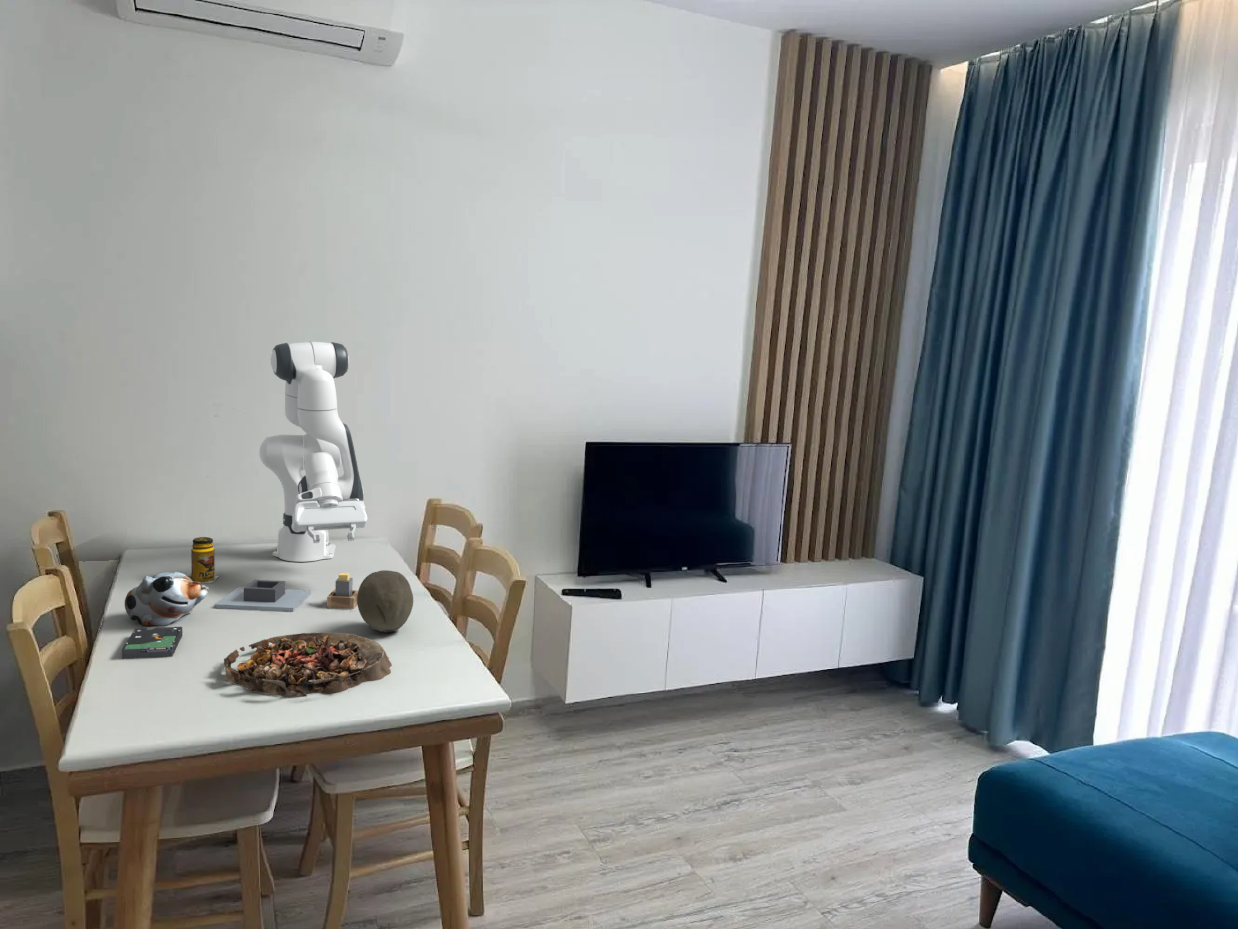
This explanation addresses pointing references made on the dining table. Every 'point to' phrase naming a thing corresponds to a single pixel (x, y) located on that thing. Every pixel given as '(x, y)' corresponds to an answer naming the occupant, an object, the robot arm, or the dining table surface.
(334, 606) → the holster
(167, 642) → the disk drive
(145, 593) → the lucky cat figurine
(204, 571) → the condiment
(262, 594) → the port
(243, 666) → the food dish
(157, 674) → the dining table surface
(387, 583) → the grey brown round stone
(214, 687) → the dining table surface
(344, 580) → the plug
